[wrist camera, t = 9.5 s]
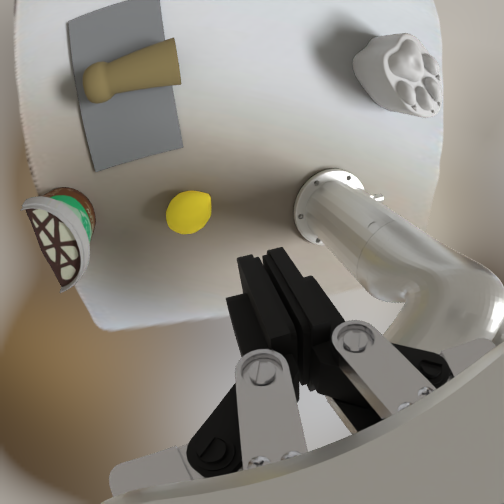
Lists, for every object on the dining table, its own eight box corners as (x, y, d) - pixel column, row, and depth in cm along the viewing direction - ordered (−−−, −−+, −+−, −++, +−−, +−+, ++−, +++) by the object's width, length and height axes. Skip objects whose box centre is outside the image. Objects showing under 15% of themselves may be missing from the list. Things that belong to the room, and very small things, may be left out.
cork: (172, 33, 25) (84, 58, 24) (175, 43, 22) (73, 75, 20) (178, 74, 30) (96, 97, 29) (182, 92, 27) (88, 119, 26)
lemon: (184, 230, 41) (181, 251, 36) (158, 204, 38) (152, 223, 33) (222, 202, 39) (224, 220, 35) (197, 173, 36) (195, 188, 32)
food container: (115, 245, 38) (102, 285, 30) (80, 255, 38) (61, 296, 29) (87, 165, 32) (61, 187, 24) (50, 179, 31) (18, 205, 23)
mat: (159, -6, 23) (158, -8, 22) (183, 146, 34) (183, 147, 34) (69, 22, 21) (68, 21, 21) (96, 171, 33) (95, 172, 32)
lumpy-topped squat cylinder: (380, 30, 31) (418, 24, 23) (422, 89, 37) (459, 95, 30) (344, 66, 33) (381, 63, 26) (392, 126, 39) (429, 136, 32)
